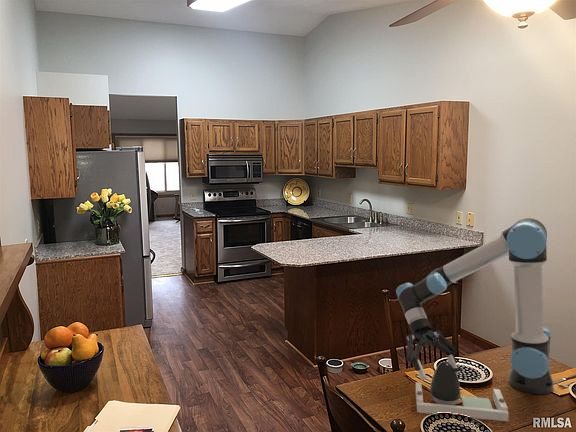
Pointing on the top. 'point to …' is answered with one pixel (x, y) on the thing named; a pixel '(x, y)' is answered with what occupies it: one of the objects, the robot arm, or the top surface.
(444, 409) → the track
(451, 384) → the dark grey tapered dome
